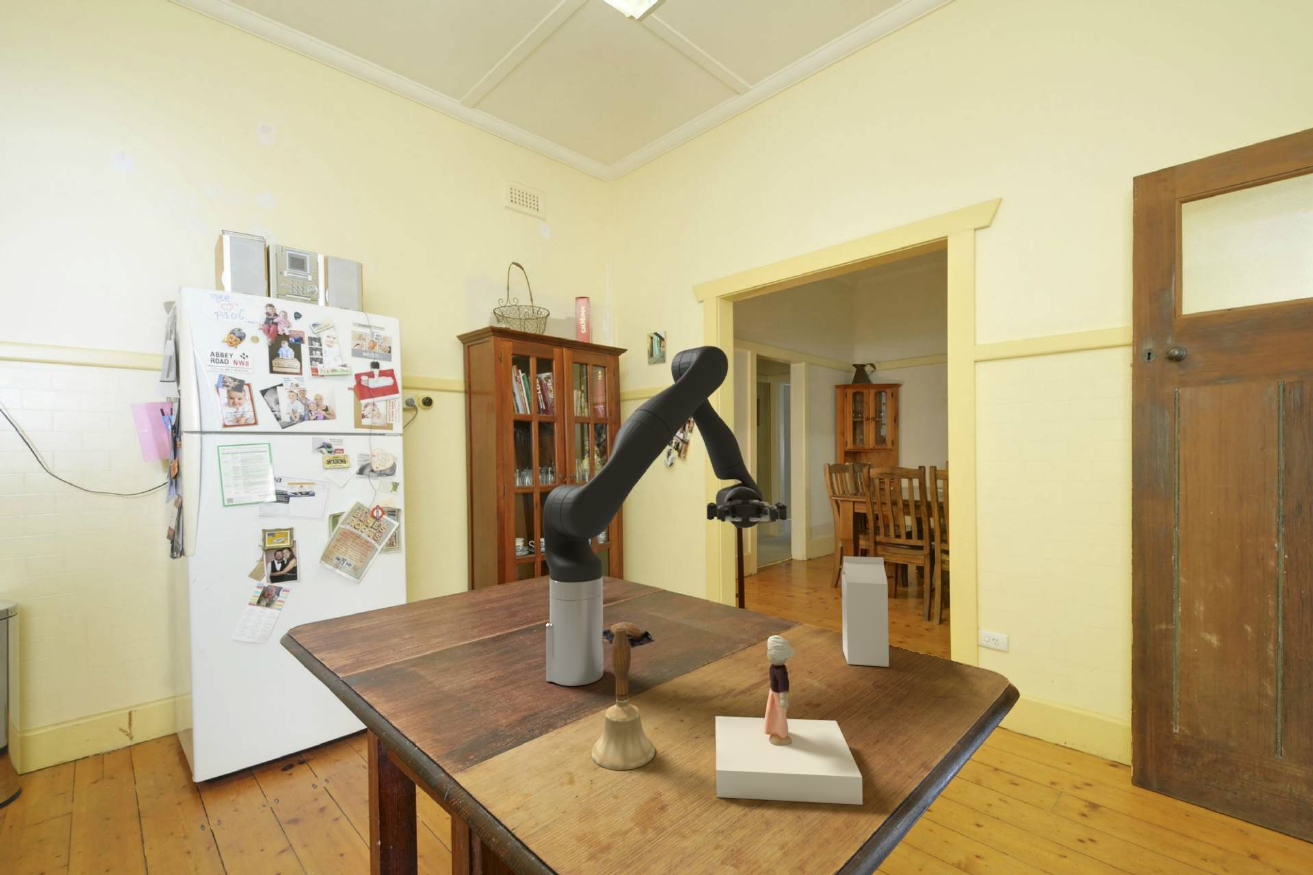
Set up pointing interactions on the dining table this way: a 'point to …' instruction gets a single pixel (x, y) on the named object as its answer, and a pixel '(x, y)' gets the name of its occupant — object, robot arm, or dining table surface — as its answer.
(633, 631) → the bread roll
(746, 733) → the stone slab
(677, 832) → the dining table surface
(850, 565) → the milk carton
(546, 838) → the dining table surface
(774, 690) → the grandmother figurine
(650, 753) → the hand bell
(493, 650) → the dining table surface
